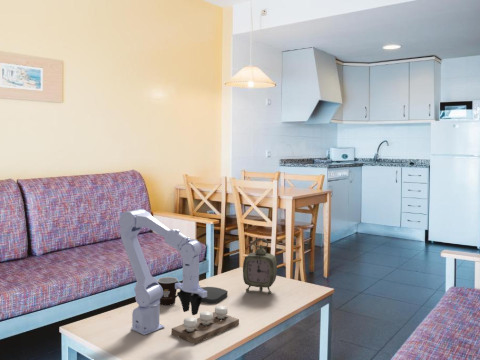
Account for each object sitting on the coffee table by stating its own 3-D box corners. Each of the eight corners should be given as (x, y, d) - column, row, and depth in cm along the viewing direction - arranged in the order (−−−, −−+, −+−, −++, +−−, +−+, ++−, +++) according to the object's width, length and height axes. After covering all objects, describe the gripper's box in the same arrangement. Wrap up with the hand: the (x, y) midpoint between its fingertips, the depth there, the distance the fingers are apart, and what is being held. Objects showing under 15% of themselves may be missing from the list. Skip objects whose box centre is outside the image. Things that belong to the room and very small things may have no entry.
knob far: (221, 321, 167) (221, 311, 167) (212, 317, 170) (212, 308, 170) (229, 317, 170) (230, 307, 170) (220, 314, 174) (220, 304, 173)
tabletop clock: (242, 292, 206) (243, 239, 204) (247, 287, 214) (248, 235, 213) (273, 296, 202) (274, 241, 200) (277, 290, 210) (278, 238, 208)
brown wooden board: (194, 344, 152) (194, 338, 152) (171, 333, 159) (171, 328, 159) (238, 324, 169) (238, 319, 169) (215, 316, 177) (216, 311, 177)
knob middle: (206, 327, 161) (206, 317, 160) (197, 323, 164) (197, 313, 164) (215, 323, 164) (215, 313, 164) (206, 320, 168) (206, 310, 167)
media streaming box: (214, 305, 189) (215, 298, 189) (185, 300, 196) (185, 293, 196) (230, 295, 203) (230, 289, 202) (202, 290, 209) (202, 284, 209)
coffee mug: (153, 304, 189) (153, 281, 188) (165, 298, 197) (165, 276, 196) (175, 309, 184) (175, 285, 183) (187, 302, 191) (187, 280, 191)
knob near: (189, 334, 155) (190, 323, 154) (180, 330, 158) (180, 319, 158) (199, 330, 158) (200, 319, 158) (190, 326, 161) (190, 316, 161)
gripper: (213, 276, 155) (213, 314, 156) (185, 268, 164) (184, 304, 165) (198, 281, 150) (198, 320, 151) (170, 272, 159) (170, 309, 160)
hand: (190, 312), depth 158 cm, fingers open, 4 cm apart
